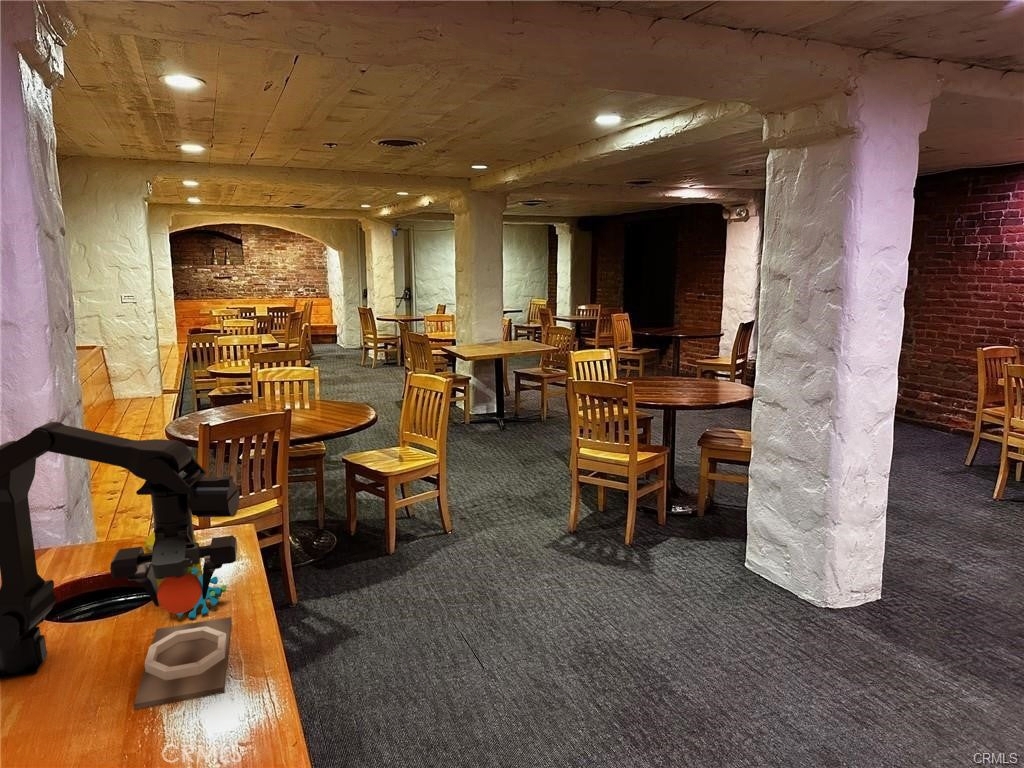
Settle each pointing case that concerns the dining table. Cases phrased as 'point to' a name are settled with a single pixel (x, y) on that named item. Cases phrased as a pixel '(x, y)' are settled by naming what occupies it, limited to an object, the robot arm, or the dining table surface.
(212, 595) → the blue knobbed toy
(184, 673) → the seat ring
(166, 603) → the clementine
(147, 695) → the board
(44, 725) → the dining table surface
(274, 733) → the dining table surface
